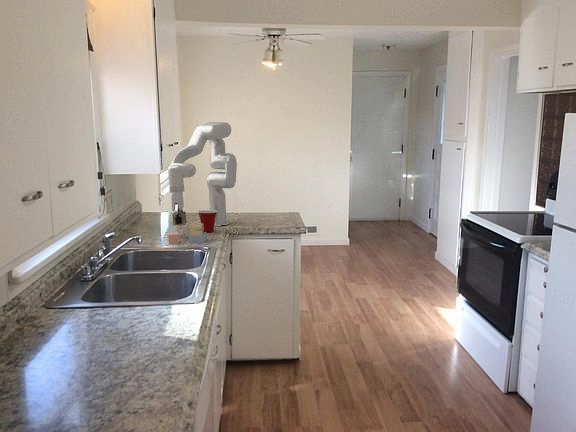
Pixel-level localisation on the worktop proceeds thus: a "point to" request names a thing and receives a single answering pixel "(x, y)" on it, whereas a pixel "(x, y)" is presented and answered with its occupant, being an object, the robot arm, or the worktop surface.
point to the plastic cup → (207, 220)
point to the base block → (198, 238)
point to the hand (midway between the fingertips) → (179, 221)
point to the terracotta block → (173, 238)
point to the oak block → (196, 230)
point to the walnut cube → (183, 216)
